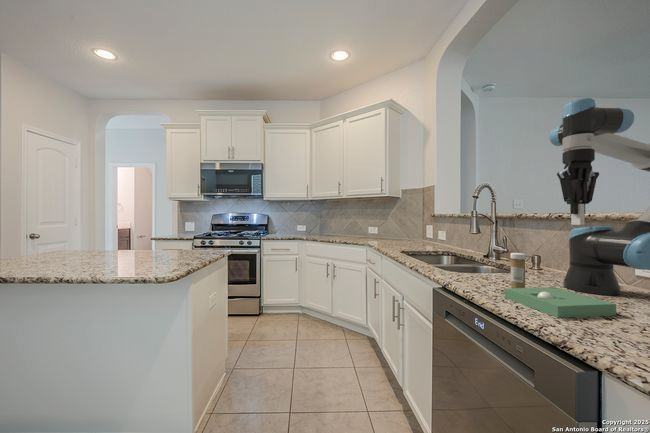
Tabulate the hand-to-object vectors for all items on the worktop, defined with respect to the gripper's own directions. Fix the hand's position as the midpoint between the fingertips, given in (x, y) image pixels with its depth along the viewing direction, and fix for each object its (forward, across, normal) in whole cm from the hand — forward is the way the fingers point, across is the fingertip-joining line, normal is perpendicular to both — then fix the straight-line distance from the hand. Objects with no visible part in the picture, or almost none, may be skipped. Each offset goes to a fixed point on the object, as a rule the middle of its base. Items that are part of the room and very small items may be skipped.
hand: (577, 224), depth 87 cm
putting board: (+24, -11, -3) cm, 27 cm away
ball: (+22, -14, -3) cm, 27 cm away
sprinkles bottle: (+25, -8, +14) cm, 29 cm away
